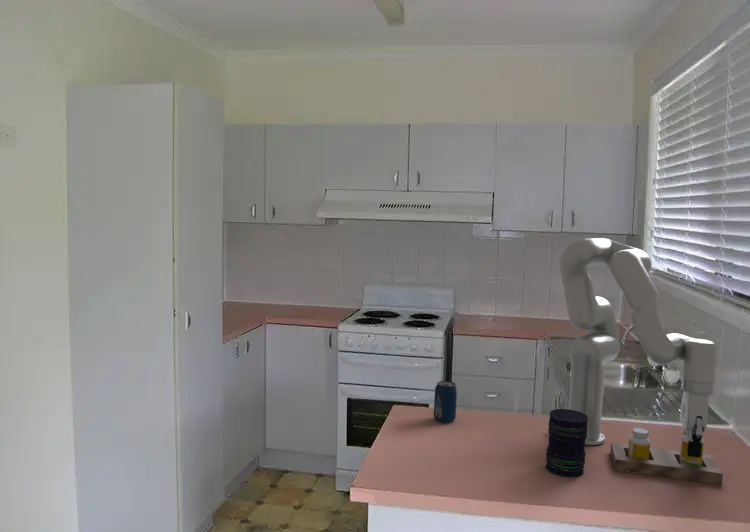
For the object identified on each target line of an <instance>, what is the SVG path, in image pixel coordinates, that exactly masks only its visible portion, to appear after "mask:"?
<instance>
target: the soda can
mask: <svg viewBox="0 0 750 532" xmlns="http://www.w3.org/2000/svg"><path fill="white" fill-rule="evenodd" d="M457 395H458V388H457V386H456V383H455V382H453V381H448V380H447V381H446V380H440V381H437V383H436V386H435V387H434V399H433V400H434V401H433V403H434V404H433V418H434V420H435V421H436V422H437V423H440V424H446V425H447V424H452V423H454V421H455V419H456V418H457V417H456V416H457V399H458V398H457V397H458V396H457Z"/></svg>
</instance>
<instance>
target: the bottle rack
mask: <svg viewBox="0 0 750 532" xmlns="http://www.w3.org/2000/svg"><path fill="white" fill-rule="evenodd" d="M628 446H629V443H628V444H626V443H618V442H610V452H611V454H610V457H611V456H612V457H611V461H612V460H613V461H612V465H613V464H614V465H613V469H614V468H615V469H614V471H617V470H622V471H621V472H624V471H629V472H628V473H631V472H636V473H635V474H639V473H641V474H640V475H646V474H648V475H647V476H654V475H656V476H655V477H661V476H663V477H662V478H668V477H669V479H677V480H683V479H685V481H690V480H691V481H692V482H697V483H698V482H699V483H706V484H713V485H721V486H722V485H723V478H724V477H723V476H724V473H723V471H722V470H721V469H720V466H719V465H718V464H717V462H716V461H715V459H714V458H713V456H712V455H711V454H708V453H707V454H705V453H703V458H702V466H693V465H685V464H681V463H680V452H681V450H673V449H666V448H659V447H658V448H657V447H651V446H650V450H649V460H647V459H639V458H632V457H628ZM610 452H609V453H610Z"/></svg>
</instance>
